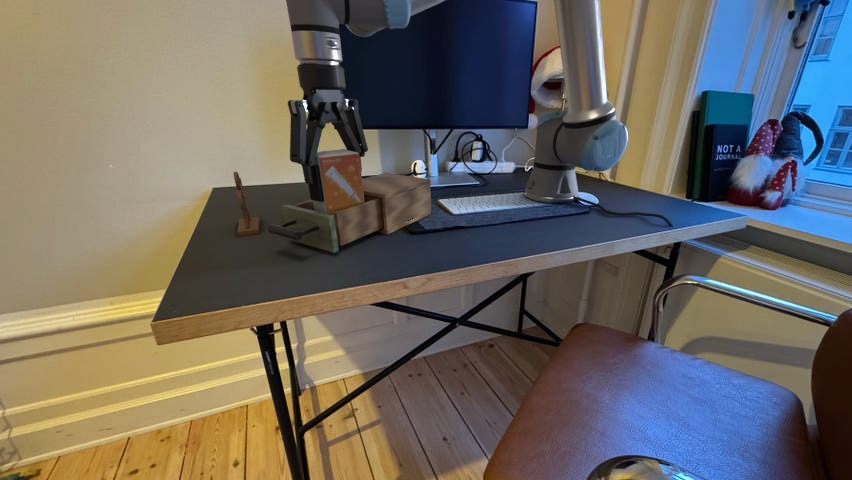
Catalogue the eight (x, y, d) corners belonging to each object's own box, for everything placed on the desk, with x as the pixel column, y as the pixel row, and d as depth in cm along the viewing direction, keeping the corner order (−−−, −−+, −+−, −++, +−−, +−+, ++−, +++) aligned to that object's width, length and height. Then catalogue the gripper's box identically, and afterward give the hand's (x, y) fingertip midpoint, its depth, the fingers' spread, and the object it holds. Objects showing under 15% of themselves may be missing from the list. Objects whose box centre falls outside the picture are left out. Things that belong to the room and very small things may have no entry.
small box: (329, 227, 70) (318, 157, 64) (315, 219, 74) (303, 152, 68) (367, 218, 75) (360, 152, 69) (351, 211, 79) (343, 148, 73)
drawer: (309, 263, 62) (302, 225, 59) (263, 248, 67) (254, 213, 64) (389, 228, 79) (387, 196, 76) (346, 218, 84) (343, 188, 81)
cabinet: (387, 234, 78) (384, 194, 74) (340, 223, 83) (335, 185, 80) (431, 214, 91) (430, 179, 87) (388, 205, 96) (385, 172, 93)
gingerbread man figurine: (259, 233, 77) (245, 175, 71) (237, 236, 75) (222, 177, 70) (259, 220, 84) (246, 167, 79) (240, 222, 82) (225, 168, 77)
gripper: (277, 58, 52) (304, 212, 62) (380, 67, 69) (389, 186, 79) (244, 59, 55) (275, 205, 65) (351, 67, 72) (362, 181, 82)
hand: (337, 194), depth 72 cm, fingers closed on small box, 9 cm apart
